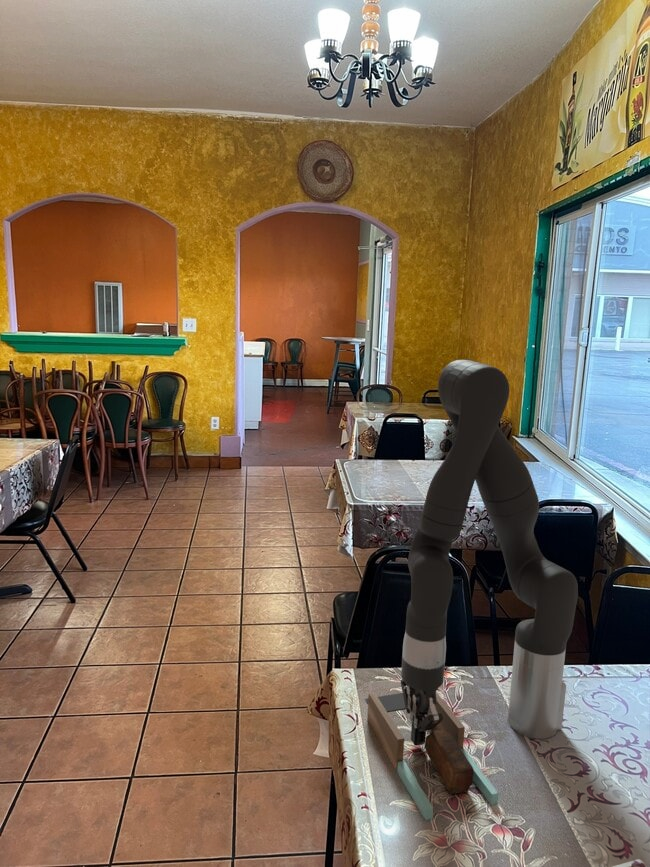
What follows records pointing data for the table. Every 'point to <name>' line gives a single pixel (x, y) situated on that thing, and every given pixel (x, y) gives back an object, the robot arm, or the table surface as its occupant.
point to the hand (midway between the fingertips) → (417, 742)
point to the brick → (449, 761)
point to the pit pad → (392, 702)
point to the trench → (393, 737)
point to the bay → (423, 801)
